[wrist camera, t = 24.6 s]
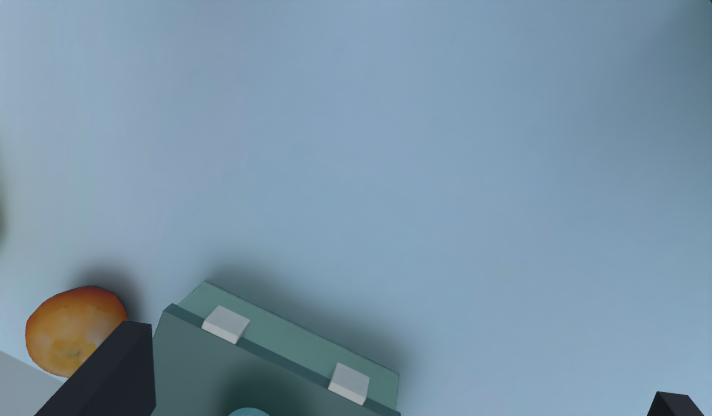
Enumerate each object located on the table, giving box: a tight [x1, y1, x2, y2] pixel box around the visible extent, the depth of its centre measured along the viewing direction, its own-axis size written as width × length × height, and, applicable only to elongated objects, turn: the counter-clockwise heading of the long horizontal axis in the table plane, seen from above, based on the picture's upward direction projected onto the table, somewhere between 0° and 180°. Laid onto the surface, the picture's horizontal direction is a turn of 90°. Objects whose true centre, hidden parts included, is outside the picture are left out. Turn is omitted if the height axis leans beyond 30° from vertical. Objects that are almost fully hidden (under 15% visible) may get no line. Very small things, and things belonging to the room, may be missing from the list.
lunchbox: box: [151, 281, 401, 416], centre depth 42 cm, size 21×15×7 cm
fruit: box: [25, 286, 127, 378], centre depth 44 cm, size 8×8×8 cm
